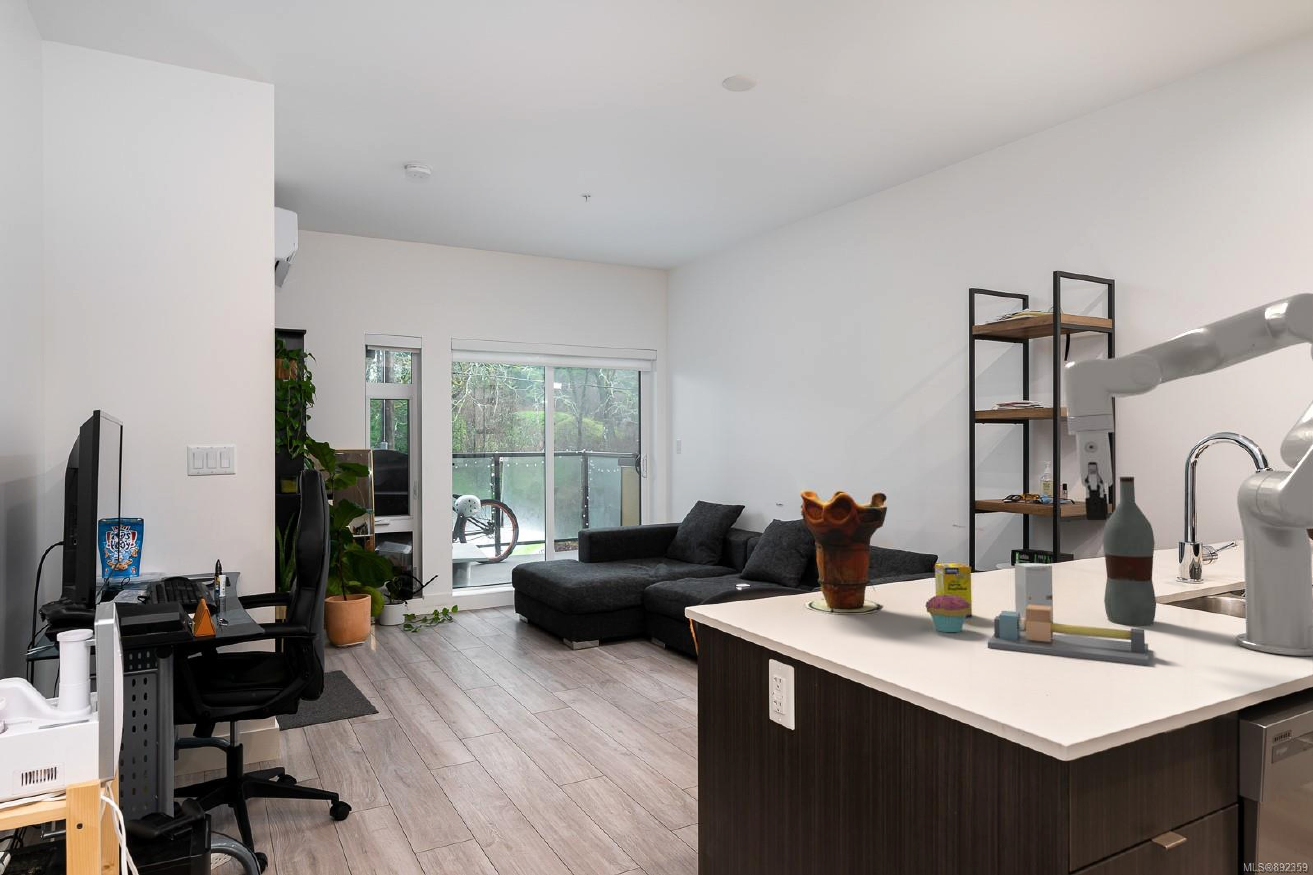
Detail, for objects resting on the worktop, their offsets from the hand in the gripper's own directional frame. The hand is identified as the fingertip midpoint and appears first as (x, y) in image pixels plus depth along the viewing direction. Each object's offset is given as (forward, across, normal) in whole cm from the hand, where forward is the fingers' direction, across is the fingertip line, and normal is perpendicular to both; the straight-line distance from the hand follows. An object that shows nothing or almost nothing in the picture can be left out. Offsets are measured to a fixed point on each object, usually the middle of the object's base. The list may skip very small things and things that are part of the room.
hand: (1097, 517), depth 146 cm
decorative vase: (+21, +11, +54) cm, 59 cm away
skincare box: (+23, +12, +14) cm, 29 cm away
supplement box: (+22, +12, +29) cm, 39 cm away
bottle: (+24, +22, -4) cm, 33 cm away
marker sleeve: (+21, -8, +11) cm, 25 cm away
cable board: (+23, -8, +6) cm, 25 cm away
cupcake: (+22, -3, +28) cm, 36 cm away
